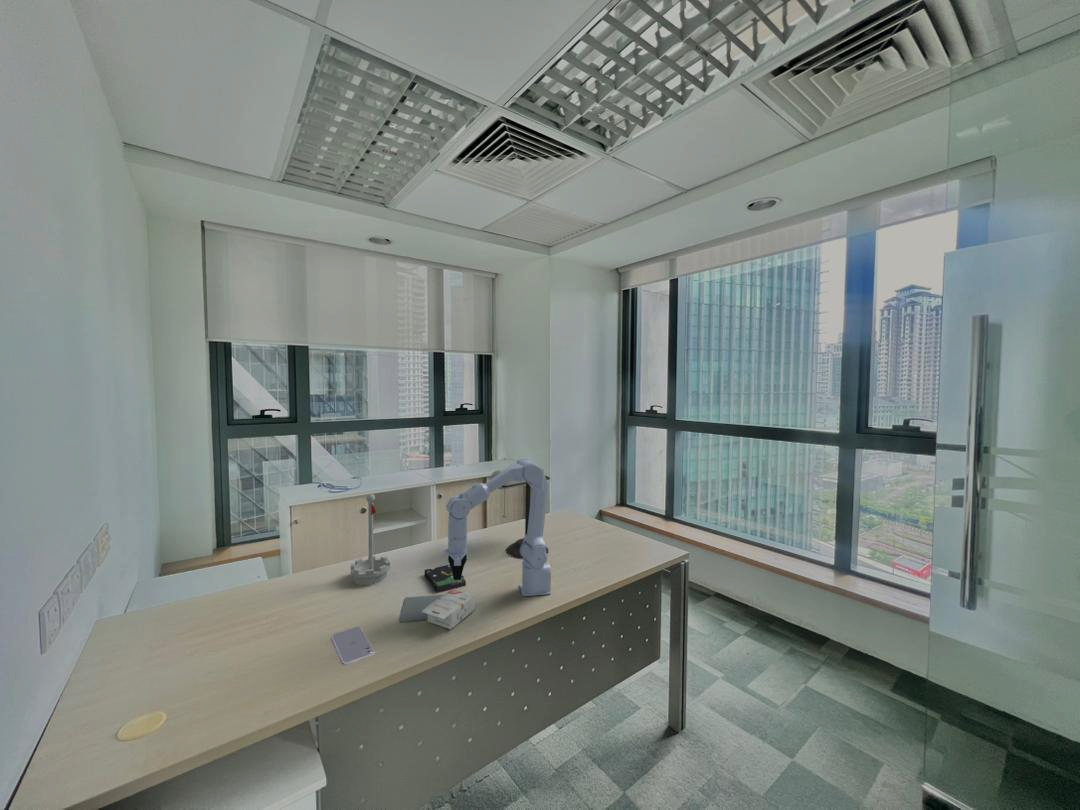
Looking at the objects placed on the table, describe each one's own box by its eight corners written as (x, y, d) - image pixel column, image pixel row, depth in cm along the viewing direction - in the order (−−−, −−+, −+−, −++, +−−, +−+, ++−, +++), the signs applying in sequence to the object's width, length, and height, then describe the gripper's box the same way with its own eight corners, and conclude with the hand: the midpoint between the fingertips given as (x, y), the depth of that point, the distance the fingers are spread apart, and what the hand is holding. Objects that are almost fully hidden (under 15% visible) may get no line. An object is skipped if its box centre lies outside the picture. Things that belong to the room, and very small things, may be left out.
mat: (456, 594, 140) (456, 593, 140) (456, 617, 126) (456, 616, 126) (405, 598, 137) (405, 597, 136) (399, 622, 123) (399, 621, 123)
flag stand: (345, 576, 151) (345, 493, 150) (382, 566, 160) (382, 487, 158) (357, 590, 141) (357, 501, 140) (396, 579, 150) (396, 495, 149)
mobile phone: (360, 624, 120) (375, 651, 108) (360, 628, 120) (375, 655, 108) (330, 633, 116) (343, 663, 104) (330, 637, 116) (343, 667, 104)
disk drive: (423, 577, 153) (437, 594, 140) (423, 569, 153) (437, 586, 140) (451, 571, 159) (466, 586, 146) (451, 563, 158) (466, 578, 146)
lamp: (527, 533, 198) (528, 461, 196) (564, 548, 180) (566, 469, 178) (479, 547, 180) (480, 468, 178) (516, 566, 162) (517, 478, 161)
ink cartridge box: (452, 604, 133) (419, 627, 120) (452, 588, 133) (419, 609, 120) (474, 611, 129) (443, 635, 116) (475, 595, 129) (444, 617, 116)
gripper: (445, 528, 138) (444, 569, 139) (443, 545, 124) (443, 591, 124) (467, 527, 139) (466, 568, 140) (468, 544, 125) (467, 589, 126)
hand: (457, 579), depth 132 cm, fingers closed
